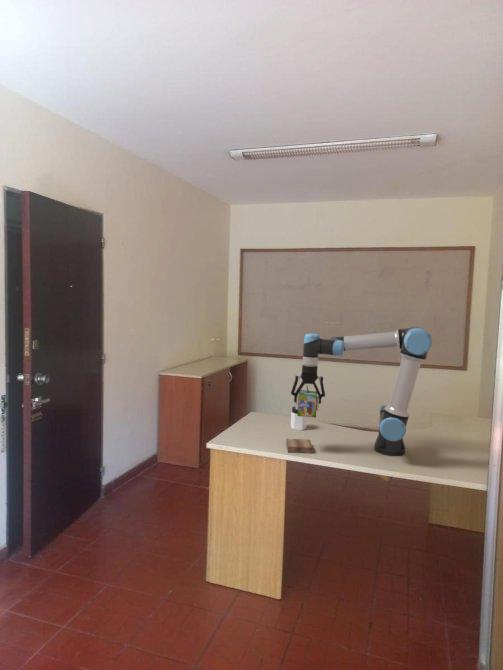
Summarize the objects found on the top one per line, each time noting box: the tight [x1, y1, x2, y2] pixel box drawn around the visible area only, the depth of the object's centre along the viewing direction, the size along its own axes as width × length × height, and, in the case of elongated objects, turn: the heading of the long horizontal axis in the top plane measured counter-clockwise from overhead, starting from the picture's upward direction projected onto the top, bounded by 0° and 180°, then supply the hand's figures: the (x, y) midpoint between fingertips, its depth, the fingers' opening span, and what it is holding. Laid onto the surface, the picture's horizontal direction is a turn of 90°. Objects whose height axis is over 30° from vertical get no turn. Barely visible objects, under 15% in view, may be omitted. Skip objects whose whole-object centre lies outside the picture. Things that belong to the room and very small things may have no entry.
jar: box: [290, 405, 308, 431], centre depth 265 cm, size 9×8×12 cm
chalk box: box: [297, 385, 318, 419], centre depth 228 cm, size 9×9×15 cm
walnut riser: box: [285, 438, 314, 454], centre depth 231 cm, size 12×12×3 cm
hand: (306, 409), depth 228 cm, fingers closed on chalk box, 9 cm apart
